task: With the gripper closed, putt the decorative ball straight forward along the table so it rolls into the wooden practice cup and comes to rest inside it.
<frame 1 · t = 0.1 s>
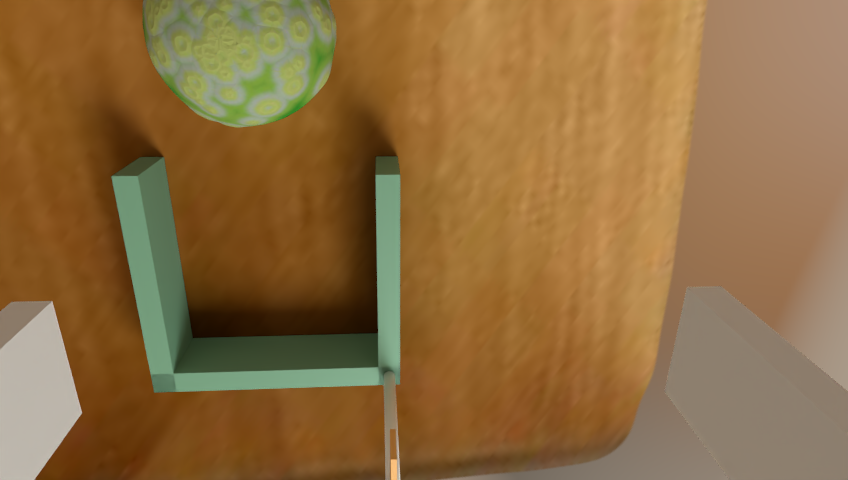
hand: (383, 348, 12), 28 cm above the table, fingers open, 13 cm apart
decorative ball: (260, 29, 36), on the table
practice cup: (279, 251, 41), on the table
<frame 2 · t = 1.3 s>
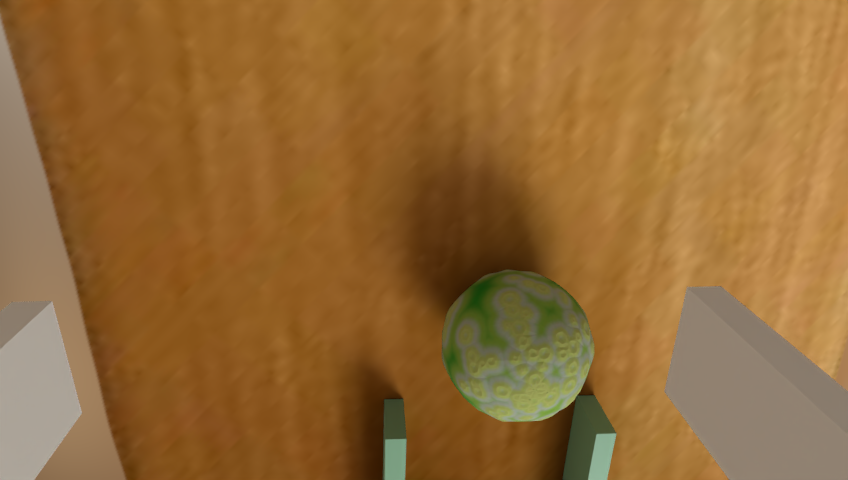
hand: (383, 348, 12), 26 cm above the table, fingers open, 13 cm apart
decorative ball: (499, 307, 43), on the table
practice cup: (484, 465, 48), on the table
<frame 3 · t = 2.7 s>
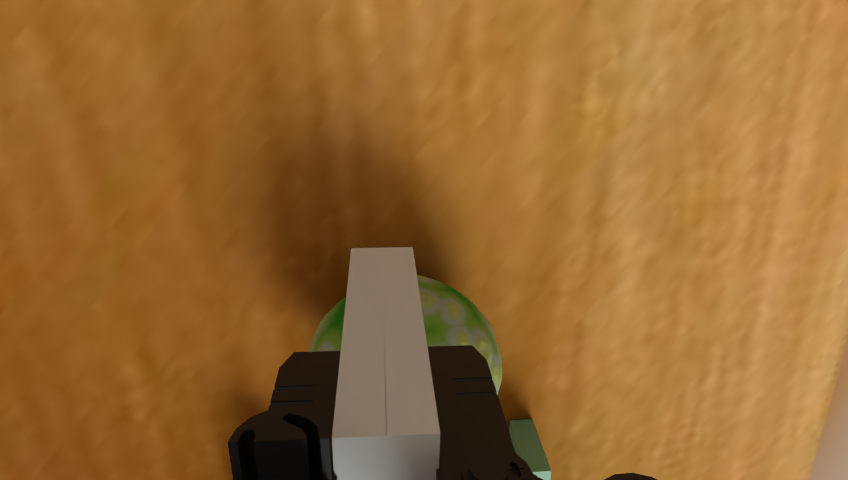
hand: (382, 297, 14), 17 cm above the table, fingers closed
decorative ball: (400, 318, 34), on the table
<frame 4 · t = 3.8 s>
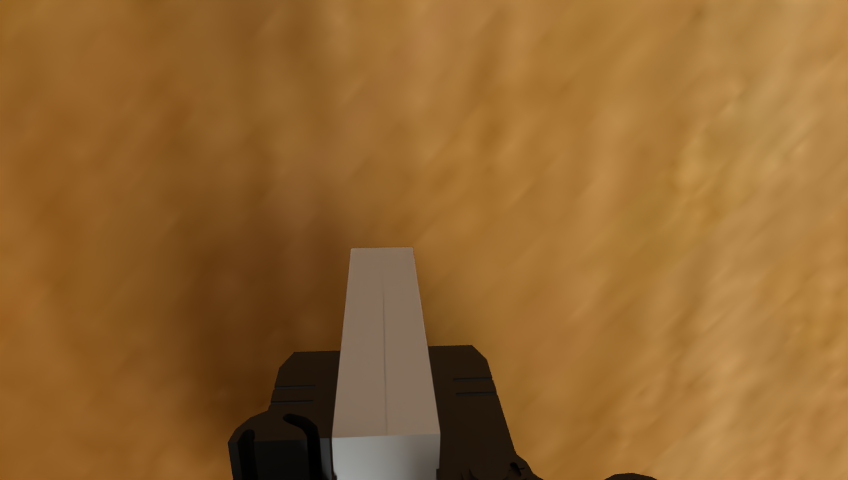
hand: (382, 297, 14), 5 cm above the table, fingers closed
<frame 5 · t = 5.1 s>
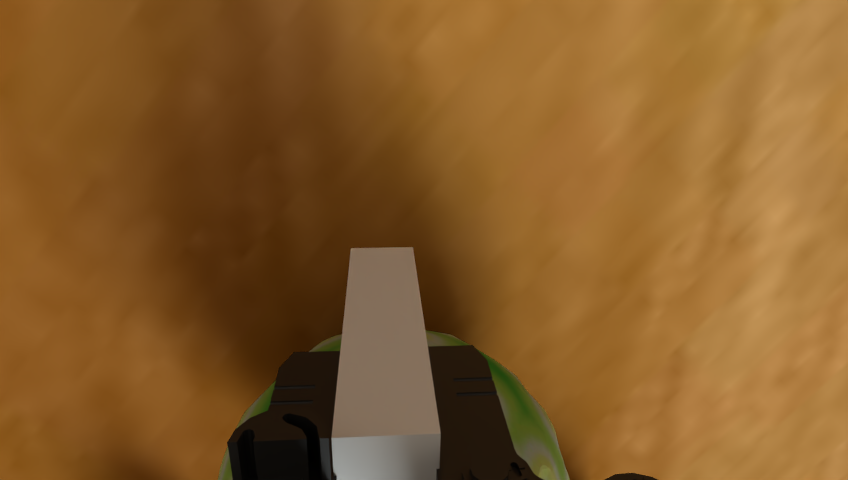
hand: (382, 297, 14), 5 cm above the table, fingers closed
decorative ball: (391, 387, 21), on the table, touching gripper
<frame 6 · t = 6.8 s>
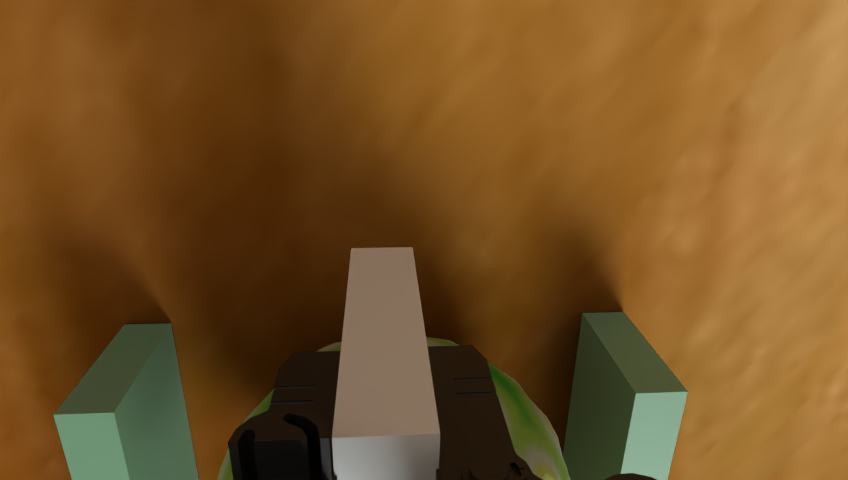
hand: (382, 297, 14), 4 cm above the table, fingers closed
decorative ball: (391, 394, 21), on the table, touching gripper
practice cup: (384, 475, 22), on the table
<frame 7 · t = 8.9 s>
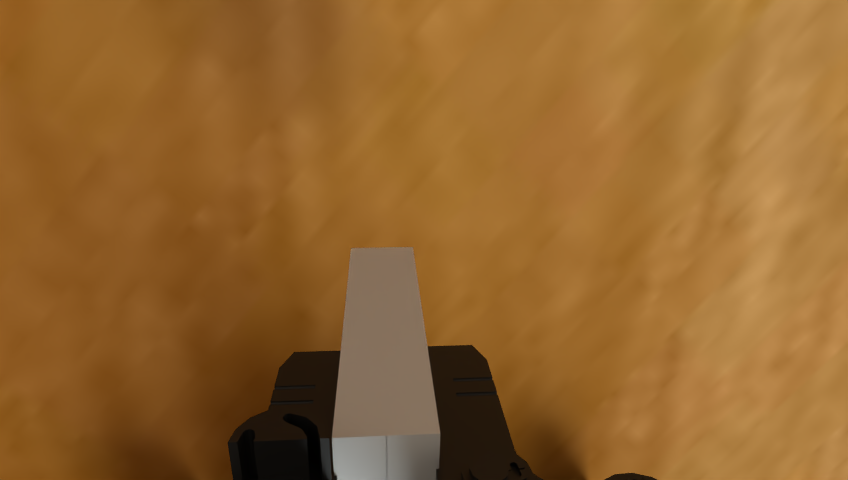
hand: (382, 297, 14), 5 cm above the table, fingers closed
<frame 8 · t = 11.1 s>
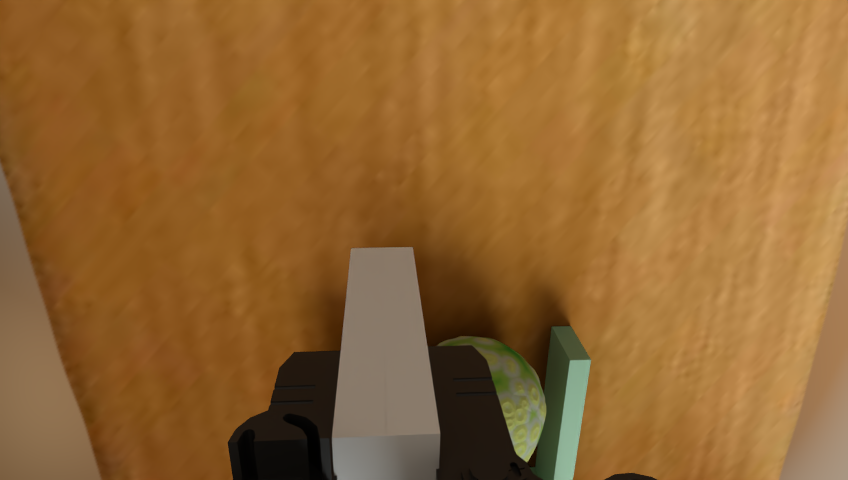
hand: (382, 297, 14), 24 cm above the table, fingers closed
decorative ball: (462, 364, 45), on the table
practice cup: (457, 404, 46), on the table
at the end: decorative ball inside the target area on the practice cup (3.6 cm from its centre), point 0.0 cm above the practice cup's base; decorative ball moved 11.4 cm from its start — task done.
